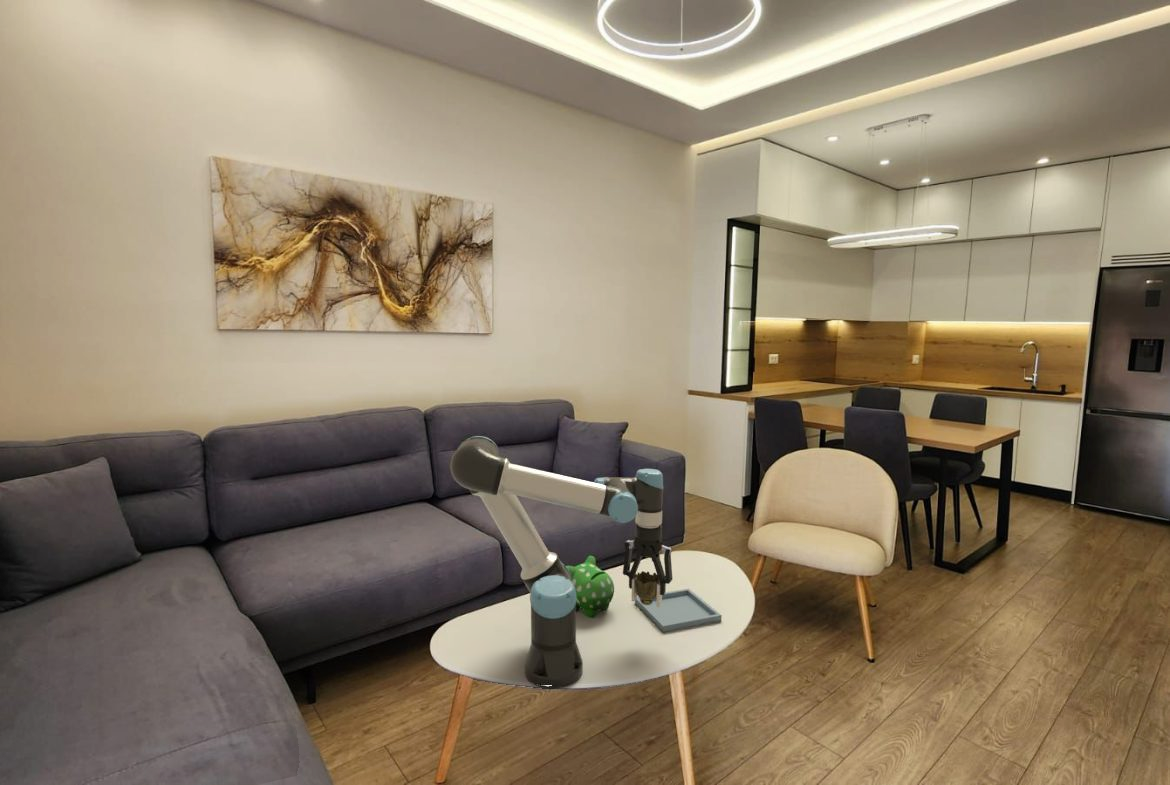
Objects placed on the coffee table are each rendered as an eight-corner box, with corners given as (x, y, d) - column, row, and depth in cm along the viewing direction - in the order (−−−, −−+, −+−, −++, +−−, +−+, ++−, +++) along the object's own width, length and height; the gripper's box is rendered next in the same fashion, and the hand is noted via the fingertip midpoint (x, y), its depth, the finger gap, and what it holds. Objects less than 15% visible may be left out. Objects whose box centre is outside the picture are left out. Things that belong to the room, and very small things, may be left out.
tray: (663, 632, 170) (663, 626, 170) (634, 603, 189) (634, 597, 188) (721, 621, 177) (721, 615, 176) (688, 594, 195) (688, 588, 195)
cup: (629, 605, 163) (629, 578, 163) (639, 595, 170) (639, 569, 169) (653, 611, 160) (654, 583, 159) (663, 600, 166) (663, 574, 166)
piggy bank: (580, 593, 196) (580, 550, 195) (622, 609, 185) (623, 564, 183) (551, 607, 186) (550, 563, 184) (594, 626, 174) (594, 578, 173)
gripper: (686, 525, 162) (683, 604, 164) (621, 515, 170) (619, 590, 173) (678, 533, 155) (676, 615, 157) (611, 522, 164) (609, 600, 166)
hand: (646, 602), depth 165 cm, fingers closed on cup, 7 cm apart
